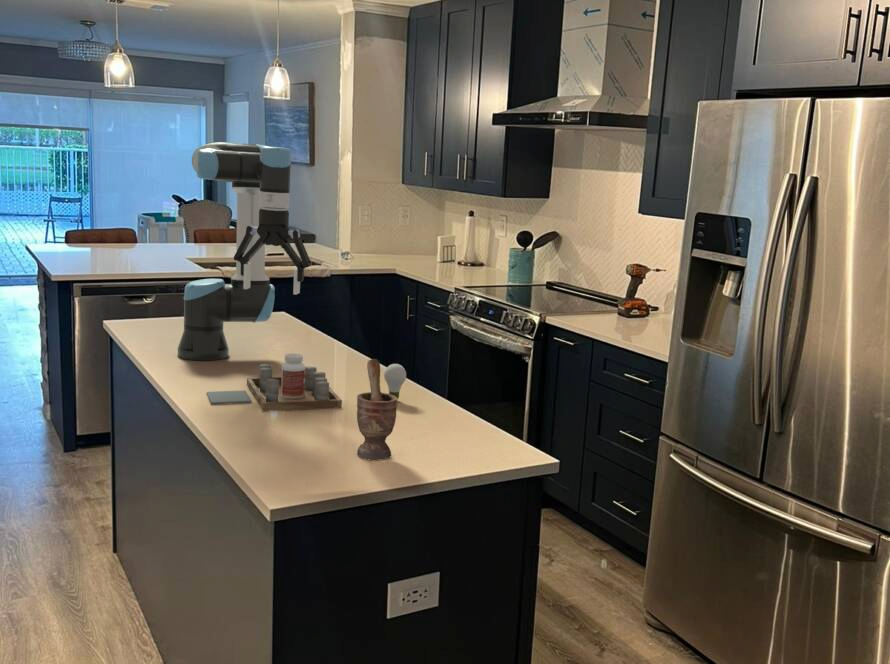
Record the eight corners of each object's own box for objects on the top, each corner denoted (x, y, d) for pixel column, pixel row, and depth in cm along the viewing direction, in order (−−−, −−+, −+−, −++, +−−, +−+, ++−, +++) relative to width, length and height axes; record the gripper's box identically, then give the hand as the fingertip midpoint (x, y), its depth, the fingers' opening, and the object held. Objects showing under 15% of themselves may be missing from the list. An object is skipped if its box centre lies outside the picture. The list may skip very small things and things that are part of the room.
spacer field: (246, 385, 239) (247, 363, 237) (318, 382, 246) (319, 362, 245) (262, 411, 216) (263, 387, 215) (341, 407, 223) (342, 385, 222)
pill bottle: (308, 398, 230) (309, 357, 228) (286, 400, 227) (287, 358, 225) (298, 392, 235) (299, 352, 233) (277, 394, 232) (278, 353, 230)
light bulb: (408, 399, 235) (410, 363, 233) (399, 404, 229) (402, 367, 227) (387, 396, 237) (389, 360, 235) (379, 401, 231) (381, 364, 229)
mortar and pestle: (340, 447, 193) (344, 359, 189) (374, 442, 198) (379, 356, 194) (366, 463, 184) (371, 371, 180) (401, 458, 189) (406, 368, 185)
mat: (206, 393, 227) (206, 391, 227) (245, 392, 231) (245, 390, 231) (211, 404, 218) (211, 402, 218) (251, 403, 222) (251, 400, 222)
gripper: (221, 205, 221) (220, 288, 225) (316, 214, 216) (312, 298, 221) (234, 203, 228) (232, 284, 232) (325, 212, 224) (322, 293, 228)
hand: (271, 291), depth 227 cm, fingers open, 13 cm apart
